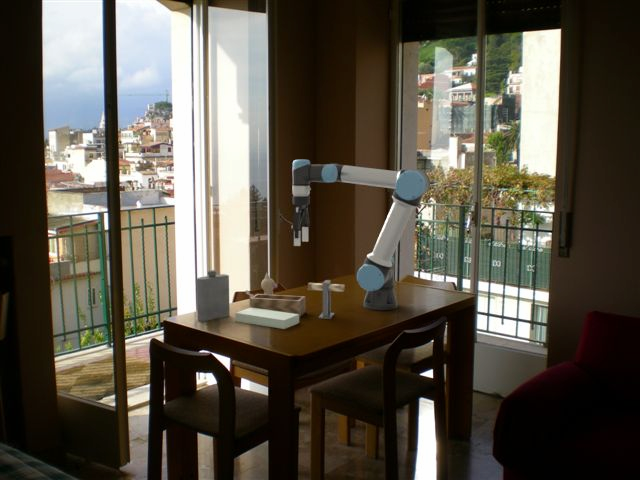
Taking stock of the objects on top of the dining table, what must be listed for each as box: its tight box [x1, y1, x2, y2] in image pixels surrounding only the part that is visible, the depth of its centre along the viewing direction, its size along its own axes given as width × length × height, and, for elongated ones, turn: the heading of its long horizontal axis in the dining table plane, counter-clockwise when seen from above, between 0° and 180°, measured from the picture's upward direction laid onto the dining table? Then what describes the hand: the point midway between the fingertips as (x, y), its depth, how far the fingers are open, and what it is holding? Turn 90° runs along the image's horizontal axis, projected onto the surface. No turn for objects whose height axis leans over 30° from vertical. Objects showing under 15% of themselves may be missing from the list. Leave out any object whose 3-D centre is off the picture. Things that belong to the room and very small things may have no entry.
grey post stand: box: [318, 279, 335, 320], centre depth 290 cm, size 5×8×15 cm, turn 166°
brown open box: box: [249, 293, 306, 318], centre depth 295 cm, size 22×9×7 cm, turn 76°
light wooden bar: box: [307, 282, 346, 293], centre depth 289 cm, size 15×3×3 cm, turn 76°
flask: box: [196, 269, 230, 322], centre depth 286 cm, size 15×6×20 cm, turn 133°
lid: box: [234, 306, 300, 330], centre depth 281 cm, size 24×11×4 cm, turn 60°
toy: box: [245, 272, 279, 299], centre depth 311 cm, size 6×15×15 cm, turn 78°
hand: (301, 243), depth 303 cm, fingers open, 13 cm apart
